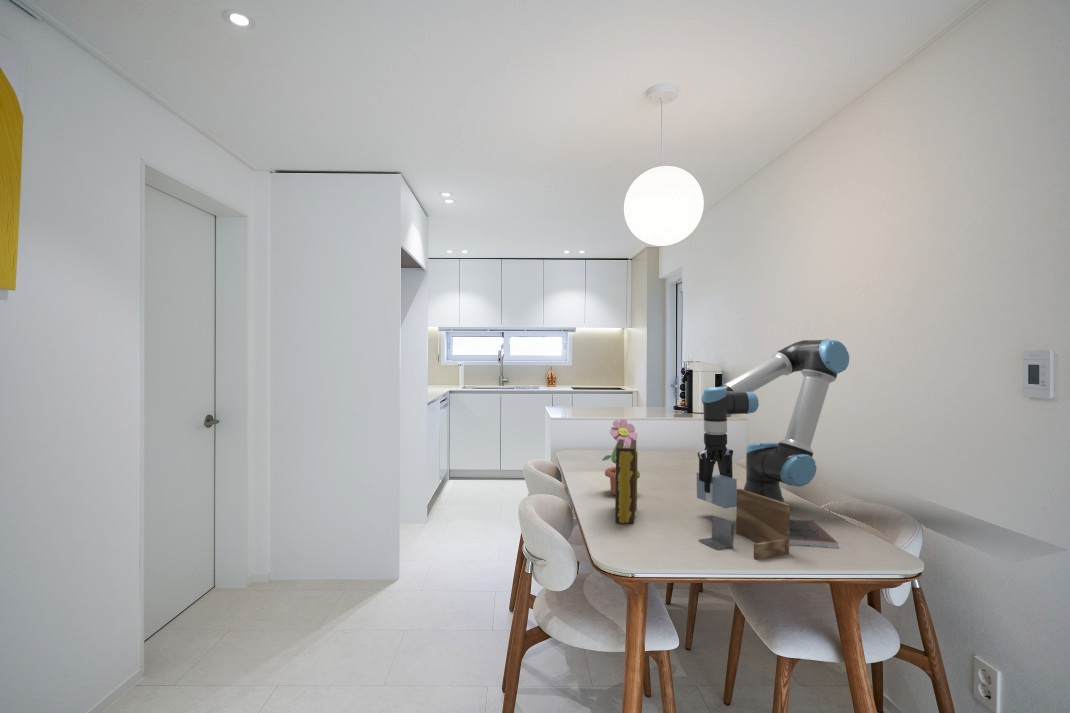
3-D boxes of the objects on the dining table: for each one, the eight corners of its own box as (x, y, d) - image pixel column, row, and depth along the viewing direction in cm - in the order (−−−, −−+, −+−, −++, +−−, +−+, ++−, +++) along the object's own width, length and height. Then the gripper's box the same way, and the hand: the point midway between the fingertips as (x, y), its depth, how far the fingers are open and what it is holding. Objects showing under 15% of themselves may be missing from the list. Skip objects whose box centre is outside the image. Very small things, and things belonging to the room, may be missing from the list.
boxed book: (707, 495, 194) (707, 470, 194) (736, 506, 181) (736, 479, 181) (696, 497, 192) (696, 472, 192) (725, 508, 179) (724, 481, 179)
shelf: (739, 532, 173) (740, 488, 173) (788, 553, 156) (789, 504, 156) (709, 537, 168) (709, 492, 168) (756, 559, 151) (757, 508, 151)
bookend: (714, 538, 167) (714, 515, 167) (733, 547, 160) (733, 523, 160) (698, 541, 165) (699, 518, 165) (717, 550, 158) (717, 526, 158)
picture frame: (761, 524, 185) (778, 546, 164) (761, 516, 185) (778, 537, 164) (813, 527, 182) (837, 550, 161) (814, 519, 182) (837, 541, 161)
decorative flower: (609, 500, 210) (610, 421, 210) (597, 491, 223) (598, 417, 223) (645, 498, 213) (646, 421, 213) (631, 489, 227) (632, 417, 227)
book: (637, 525, 179) (638, 449, 179) (611, 523, 181) (612, 448, 181) (638, 506, 201) (639, 438, 201) (615, 505, 203) (616, 437, 203)
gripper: (728, 429, 193) (728, 494, 193) (686, 433, 186) (687, 501, 186) (744, 432, 186) (744, 500, 187) (701, 436, 179) (702, 507, 179)
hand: (716, 500), depth 186 cm, fingers closed on boxed book, 5 cm apart
